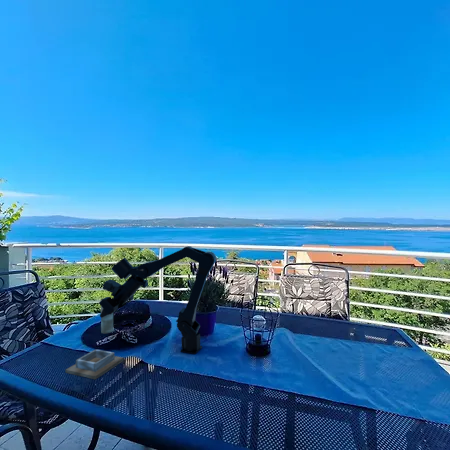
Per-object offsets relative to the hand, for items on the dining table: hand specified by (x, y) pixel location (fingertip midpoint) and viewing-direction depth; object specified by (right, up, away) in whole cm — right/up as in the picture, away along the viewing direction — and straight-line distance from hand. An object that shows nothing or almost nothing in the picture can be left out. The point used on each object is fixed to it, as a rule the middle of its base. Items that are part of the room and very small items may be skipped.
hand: (103, 314), depth 110 cm
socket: (+4, -13, -15) cm, 20 cm away
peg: (+1, -7, 0) cm, 7 cm away
